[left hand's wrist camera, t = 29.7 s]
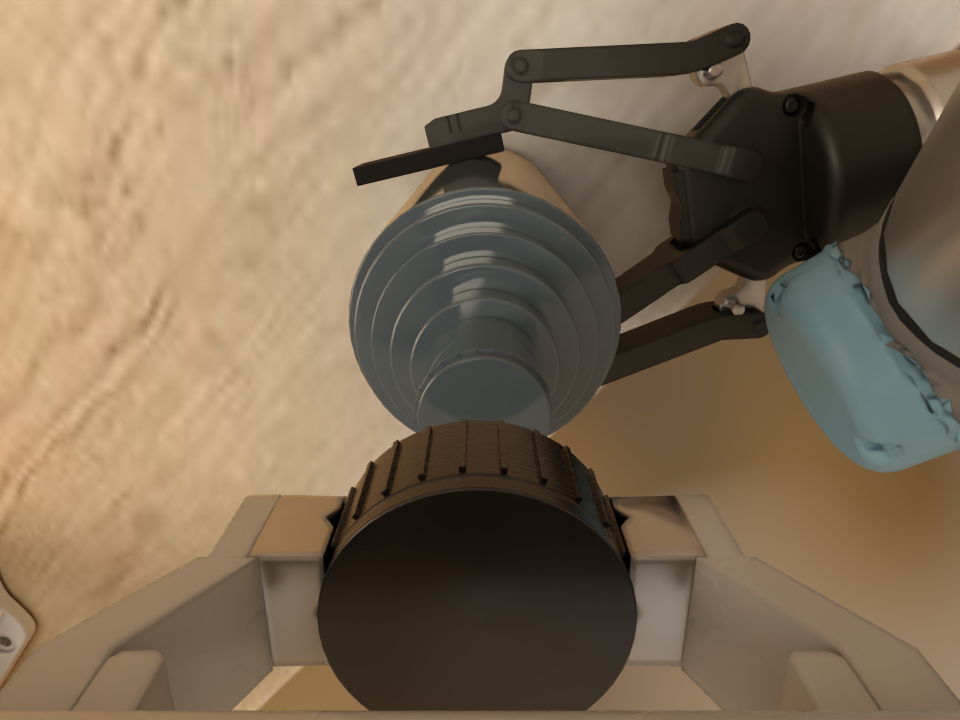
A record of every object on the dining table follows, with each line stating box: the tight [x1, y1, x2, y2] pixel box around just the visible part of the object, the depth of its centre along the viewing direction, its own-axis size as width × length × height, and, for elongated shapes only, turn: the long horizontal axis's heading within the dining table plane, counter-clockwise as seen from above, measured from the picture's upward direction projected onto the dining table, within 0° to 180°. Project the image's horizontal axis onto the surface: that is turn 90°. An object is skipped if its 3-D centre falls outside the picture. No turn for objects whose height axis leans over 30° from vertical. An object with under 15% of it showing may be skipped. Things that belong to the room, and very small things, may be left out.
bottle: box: [349, 149, 621, 437], centre depth 26 cm, size 8×8×25 cm
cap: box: [317, 419, 637, 711], centre depth 9 cm, size 4×4×2 cm
